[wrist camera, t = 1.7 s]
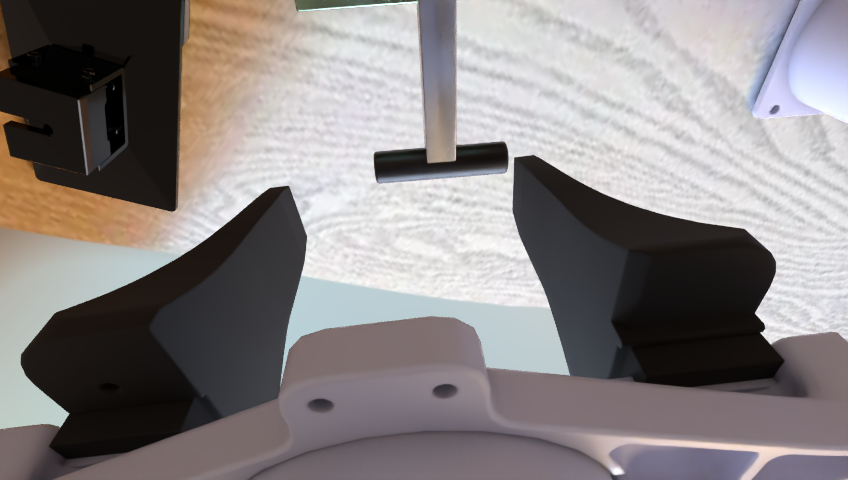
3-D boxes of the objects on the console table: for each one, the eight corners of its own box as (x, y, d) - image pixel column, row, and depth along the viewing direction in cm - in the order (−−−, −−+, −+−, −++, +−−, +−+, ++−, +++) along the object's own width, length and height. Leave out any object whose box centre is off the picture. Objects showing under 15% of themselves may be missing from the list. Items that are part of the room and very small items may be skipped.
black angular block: (-10, -90, 16) (-126, -93, 13) (192, -15, 18) (142, 1, 15) (39, 176, 23) (-26, 225, 19) (182, 210, 25) (147, 260, 21)
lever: (498, 155, 17) (510, 188, 16) (377, 164, 17) (377, 199, 15) (531, -283, 10) (564, -317, 8) (314, -269, 10) (298, -300, 8)
